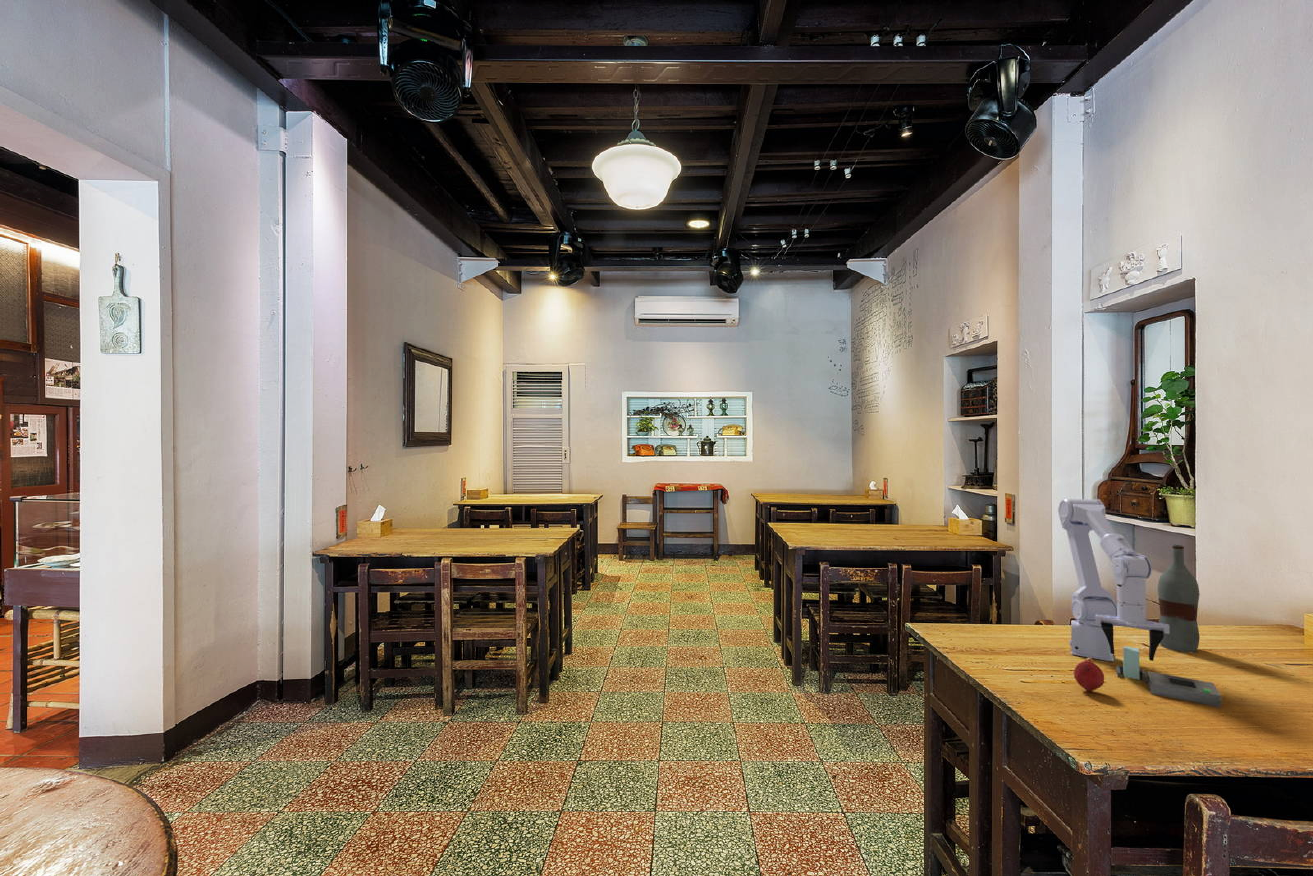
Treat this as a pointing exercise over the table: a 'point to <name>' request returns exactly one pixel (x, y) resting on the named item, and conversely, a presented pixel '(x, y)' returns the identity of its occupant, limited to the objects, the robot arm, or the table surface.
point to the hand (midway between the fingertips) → (1131, 656)
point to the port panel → (1184, 689)
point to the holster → (1141, 672)
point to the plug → (1131, 662)
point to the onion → (1089, 675)
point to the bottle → (1179, 604)
